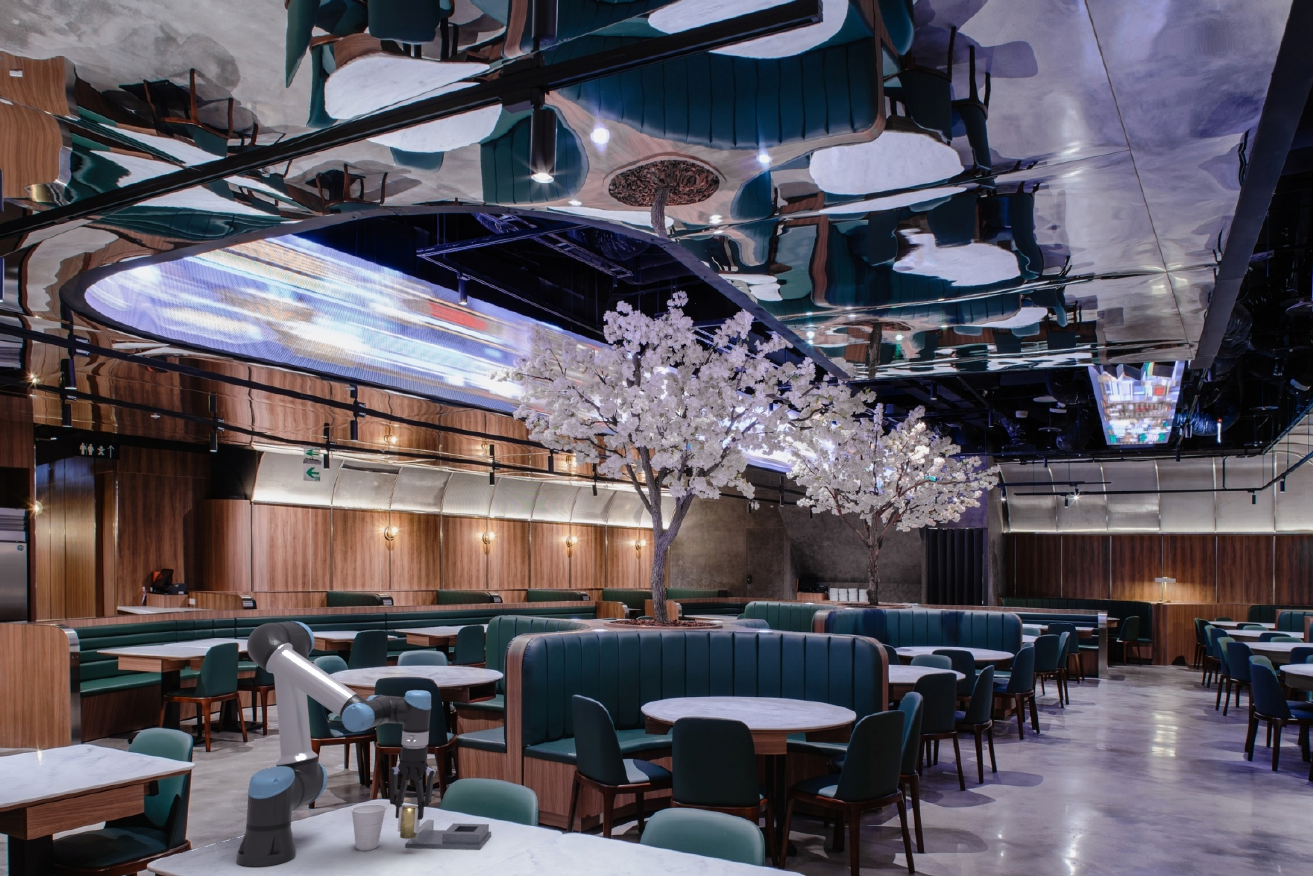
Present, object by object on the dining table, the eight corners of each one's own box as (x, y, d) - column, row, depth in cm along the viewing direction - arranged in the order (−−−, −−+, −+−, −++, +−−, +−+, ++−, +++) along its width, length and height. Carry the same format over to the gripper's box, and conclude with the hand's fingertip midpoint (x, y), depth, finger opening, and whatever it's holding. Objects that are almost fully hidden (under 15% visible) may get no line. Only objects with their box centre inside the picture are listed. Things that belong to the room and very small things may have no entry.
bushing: (397, 838, 253) (399, 809, 254) (403, 834, 258) (405, 805, 259) (413, 839, 253) (415, 809, 254) (418, 834, 257) (419, 805, 259)
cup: (373, 854, 253) (375, 813, 255) (342, 851, 255) (344, 811, 257) (390, 844, 263) (392, 805, 265) (360, 841, 265) (362, 803, 267)
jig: (405, 847, 260) (405, 832, 260) (420, 834, 273) (421, 819, 274) (479, 849, 258) (480, 834, 259) (491, 835, 272) (491, 821, 273)
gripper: (381, 747, 256) (374, 832, 252) (439, 750, 255) (433, 836, 251) (390, 742, 263) (384, 825, 260) (447, 745, 262) (441, 828, 259)
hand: (408, 830), depth 256 cm, fingers closed on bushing, 4 cm apart
